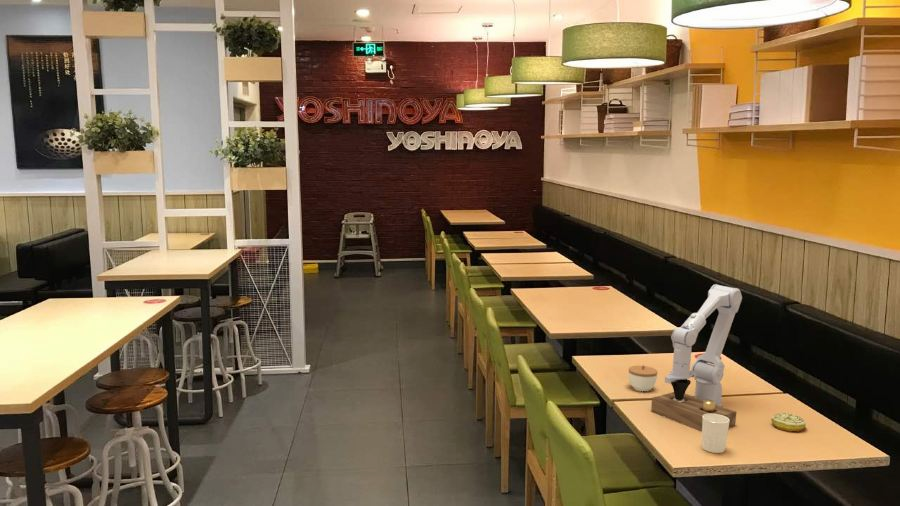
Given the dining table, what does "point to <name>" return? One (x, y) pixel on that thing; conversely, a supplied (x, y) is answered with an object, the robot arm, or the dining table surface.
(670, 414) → the walnut block
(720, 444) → the white cup
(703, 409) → the gold ball
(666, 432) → the dining table surface
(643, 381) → the lidded jar
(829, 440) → the dining table surface
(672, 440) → the dining table surface
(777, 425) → the yellow green round disc
